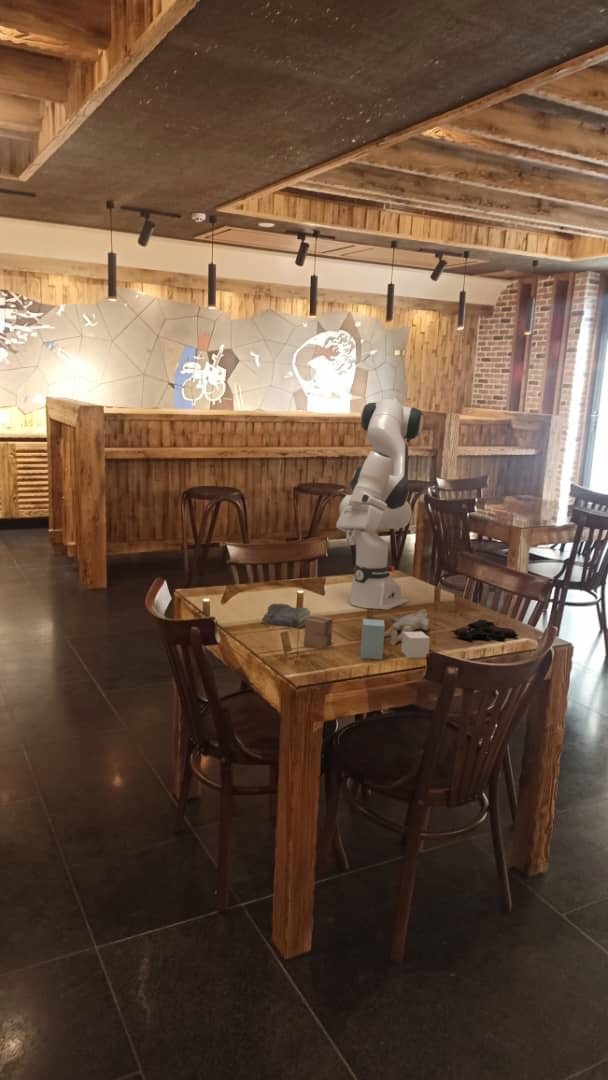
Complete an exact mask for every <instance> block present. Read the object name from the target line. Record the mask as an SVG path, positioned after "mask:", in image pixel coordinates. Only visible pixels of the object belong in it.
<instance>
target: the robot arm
mask: <svg viewBox="0 0 608 1080" xmlns="http://www.w3.org/2000/svg"><path fill="white" fill-rule="evenodd" d="M360 413H361V414H360V425H361V428H362V429H363V430H364V431H366V432H367V433H366V437H367V441H368V443H369V444H370V445H371V447H372V448H373V449H372V450H371V451H370V452H369V453H368V454H367V456H366V458H365V460H364V463H363V464H361V465H359V466H357V467H355V468H354V471H353V476H352V479H351V480H350V482H349V485H350V488H351V491H352V493H351V494H347V495H345V496H344V497H343V498H342V499H341V501H340V503H339V517H338V519H337V521H336V529H338V530H340V531H342V532H346V539H345V541H344V543H345V544H346V545H348V546H355V545H356V547H355V548H356V550H355V551H356V552H355V553H356V555H355V564H354V567H353V574H354V576H353V578H352V582H351V590H350V595H348V603H349V604H350V605H352V606H355V607H358V608H363V609H379V610H385V611H386V610H387V611H388V610H391V609H393V607H394V608H396V606H397V607H398V605H399V606H402V605H404V603H405V604H407V603H408V599H406V598H405V597H403V596H402V587H401V585H400V584H399V583H398V582H397V581H396V580H394V579H393V578H392V576H390V572H391V573H394V572H395V571H396V568H395V566H392V565H388V555H389V554H388V553H389V547H388V546H389V545H388V544H387V541H385V540H384V539H383V538H382V537H381V536H379V535H377V533H376V531H377V530H378V529H379V528H381V529H389V530H390V529H391V530H392V529H393V530H394V529H404V528H406V526H408V524H409V523H410V521H411V520H412V514H413V513H412V512H413V511H412V506H411V505H410V503H409V501H407V500H408V497H409V494H410V493H409V492H410V491H409V490H410V485H409V484H410V483H409V447H408V443H410V441H411V440H414V439H415V438H417V437H418V436H419V435H420V433H421V432H422V429H423V427H424V416H423V412H422V411H421V409H418V408H417V407H412V406H411V407H409V406H405V405H402V404H401V403H400V402H399V401H398V400H395V399H393V398H385V399H383V400H382V401H380V402H378V403H377V402H368V403H367V404H365V405H364V406H363V408H362V410H361V412H360ZM405 440H406V442H405ZM401 604H402V605H401Z"/></svg>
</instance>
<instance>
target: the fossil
mask: <svg viewBox="0 0 608 1080" xmlns="http://www.w3.org/2000/svg"><path fill="white" fill-rule="evenodd" d="M266 611H267V612H266V613H265V614H264V615H263V617H262V619H261V623H262V624H264V625H269V624H270V625H271V626H278V627H288V628H290V627H291V628H297V629H298V630H299V629H301V628H303V627H305V619H307V618H309V617H311V616H310V614H311V610H310V609H309V608H307V607H292V606H291V605H289V604H285V603H276V602H275V603H272V604H269V606H267V610H266ZM270 625H269V626H270Z"/></svg>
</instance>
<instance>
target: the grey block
mask: <svg viewBox="0 0 608 1080" xmlns="http://www.w3.org/2000/svg"><path fill="white" fill-rule="evenodd" d="M430 639H431V638H430V636H428V635H427V634H426V633H424V632H423V631H412V632H403V636H402V641H401V652H402V654H403V655H405V656H406V658H408V659H416V658H417V659H419V658H421V659H423V658H426V655H427V653H428V654H429V649H430Z"/></svg>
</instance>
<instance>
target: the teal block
mask: <svg viewBox="0 0 608 1080" xmlns="http://www.w3.org/2000/svg"><path fill="white" fill-rule="evenodd" d="M361 627H362V628H361V645H360V659H361V658H376V659H382V660H383V655H384V654H383V653H384V642H385V641H384V640H385V638H384V632H385V631H386V630H385V628H386V626H385V620H384V619H373V618H372V619H370V618H369V619H368V618H362V626H361Z"/></svg>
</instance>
